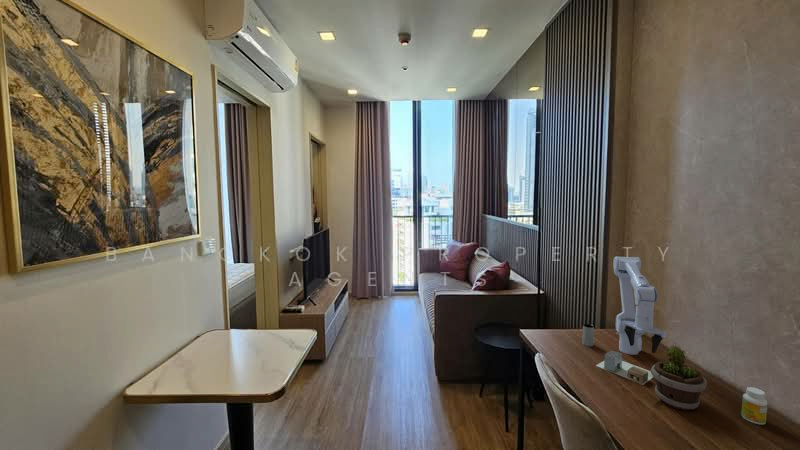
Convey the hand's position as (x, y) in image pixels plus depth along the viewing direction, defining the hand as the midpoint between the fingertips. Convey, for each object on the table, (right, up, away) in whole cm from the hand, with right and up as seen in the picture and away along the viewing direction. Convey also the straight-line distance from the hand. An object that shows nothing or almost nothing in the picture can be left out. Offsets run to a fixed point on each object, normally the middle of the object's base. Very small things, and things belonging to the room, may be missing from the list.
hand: (642, 348), depth 132 cm
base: (-6, -10, +1) cm, 12 cm away
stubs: (-7, -10, -6) cm, 13 cm away
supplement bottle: (+15, -12, -27) cm, 34 cm away
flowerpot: (-2, -12, -18) cm, 22 cm away
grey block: (-11, -9, +2) cm, 14 cm away
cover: (-6, -9, -6) cm, 13 cm away
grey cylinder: (-9, -8, +24) cm, 27 cm away
